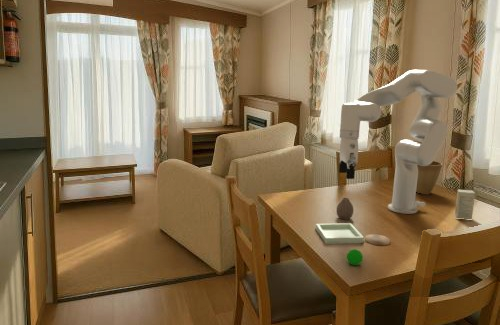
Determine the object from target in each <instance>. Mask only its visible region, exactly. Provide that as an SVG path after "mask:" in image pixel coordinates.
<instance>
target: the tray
mask: <svg viewBox="0 0 500 325" xmlns="http://www.w3.org/2000/svg"><path fill="white" fill-rule="evenodd" d="M315 230H316V231H317V233H318V235H319V236H320V237H321V239H322V241H323V242H324V244H329V245H331V244H332V245H333V244H335V245H336V244H364V241H365V236H363V235H362V233H361V232H360V231H359V230H358V229H357V228H356V227H355V225H353V224H352V223H351V222H347V223H344V222H342V223H341V222H339V223H315Z"/></svg>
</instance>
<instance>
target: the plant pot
mask: <svg viewBox="0 0 500 325" xmlns="http://www.w3.org/2000/svg"><path fill="white" fill-rule="evenodd" d="M417 167H418V179H417V188H416V192H417V193H416V194H419V193H421V194H420V195H430V194H431V193H432V192H433V190H434V188H435V186H436V183H437V181H438V179H439V176H440V173H441V171H442V167H443V163H442V162H439V161H437V160H433V162H432V163H431V164H429V165H427V166H420V165H417Z"/></svg>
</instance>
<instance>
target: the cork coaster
mask: <svg viewBox="0 0 500 325" xmlns="http://www.w3.org/2000/svg"><path fill="white" fill-rule="evenodd" d="M364 241H365V242H366V243H368V244H371V245H374V246H383V247H384V246H388V245H390V244H391V239H390V238H389V237H388V236H385V235H381V234H376V233H375V234H374V233H373V234H366V235H365V236H364Z"/></svg>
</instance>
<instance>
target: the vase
mask: <svg viewBox="0 0 500 325" xmlns="http://www.w3.org/2000/svg"><path fill="white" fill-rule="evenodd" d="M354 211H355V210H354V205H353V204H352V202H351V200H350V199H349V198H348V197H343V198H342V200H340V201H339V203H338V204H337V206H336V215H337V217H338V218H339V219H340V220H342V221H348V220H350V219H351V218H352V217H353V215H354Z"/></svg>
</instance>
